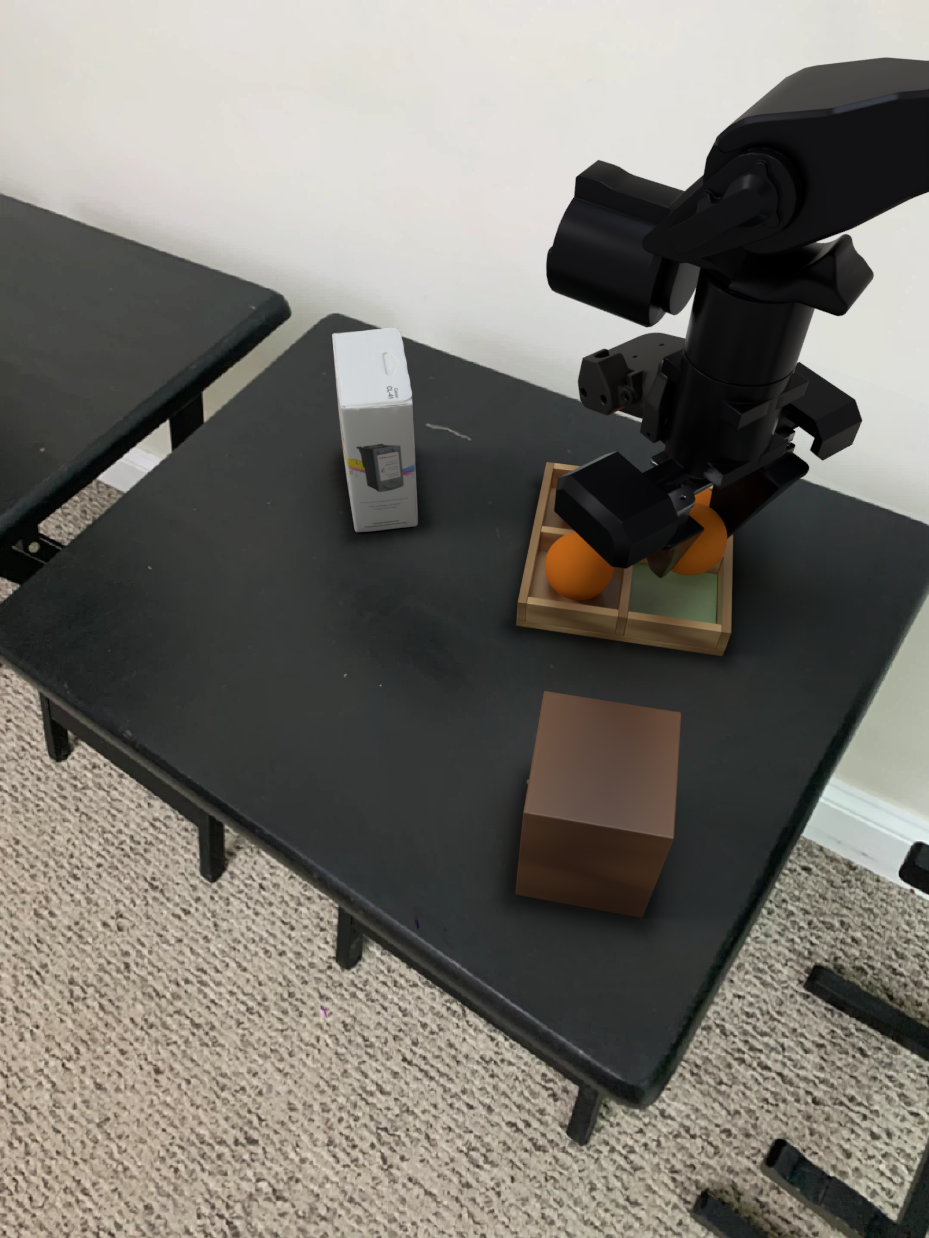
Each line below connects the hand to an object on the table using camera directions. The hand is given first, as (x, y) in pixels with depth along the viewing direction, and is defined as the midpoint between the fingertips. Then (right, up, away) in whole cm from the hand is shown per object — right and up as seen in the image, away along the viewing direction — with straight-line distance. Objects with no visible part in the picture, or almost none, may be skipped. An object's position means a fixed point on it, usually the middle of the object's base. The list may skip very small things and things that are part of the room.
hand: (685, 557), depth 60 cm
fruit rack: (-3, 0, +7) cm, 7 cm away
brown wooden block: (-7, -17, -7) cm, 20 cm away
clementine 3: (0, 0, +1) cm, 1 cm away
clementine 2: (+1, +2, +8) cm, 8 cm away
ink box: (-21, +6, +11) cm, 24 cm away
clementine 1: (-7, -2, +4) cm, 8 cm away
